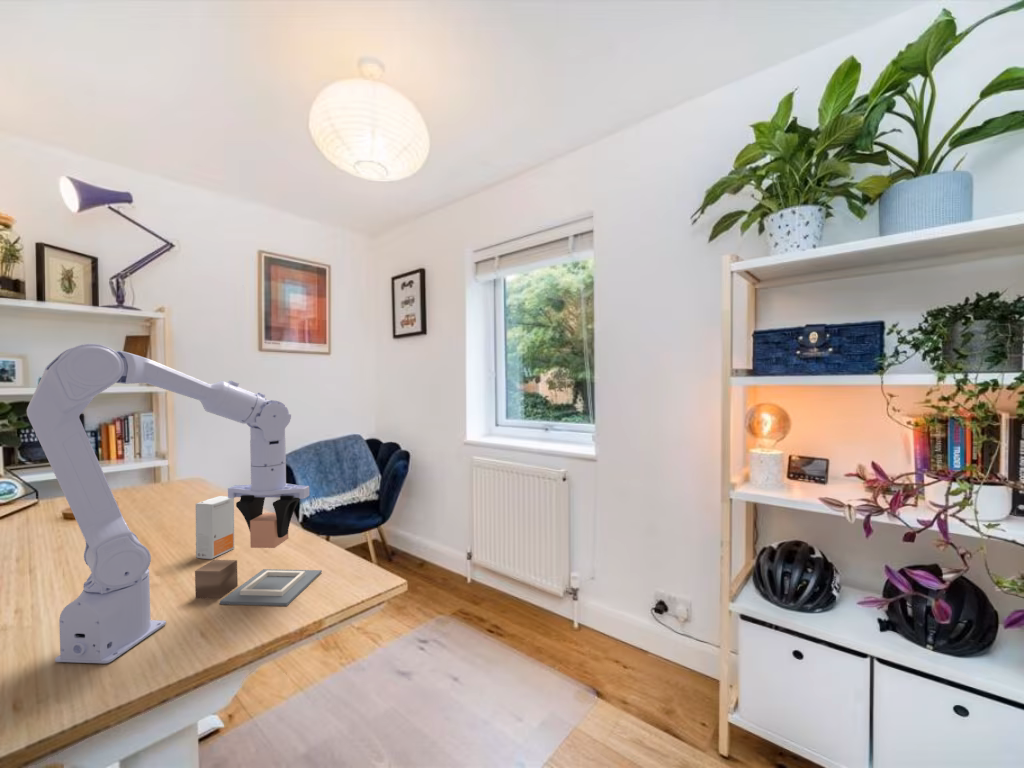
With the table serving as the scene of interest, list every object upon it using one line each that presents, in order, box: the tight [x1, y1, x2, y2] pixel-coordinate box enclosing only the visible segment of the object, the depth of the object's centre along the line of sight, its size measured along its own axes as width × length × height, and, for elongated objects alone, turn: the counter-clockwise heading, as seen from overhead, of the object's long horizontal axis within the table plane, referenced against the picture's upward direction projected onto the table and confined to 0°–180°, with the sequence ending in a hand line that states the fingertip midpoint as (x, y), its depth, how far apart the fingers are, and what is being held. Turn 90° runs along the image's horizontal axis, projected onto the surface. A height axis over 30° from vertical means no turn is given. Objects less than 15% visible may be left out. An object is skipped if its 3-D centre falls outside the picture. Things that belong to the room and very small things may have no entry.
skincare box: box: [195, 495, 235, 560], centre depth 94 cm, size 6×4×12 cm
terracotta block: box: [249, 512, 289, 549], centre depth 80 cm, size 4×4×5 cm
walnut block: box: [194, 559, 239, 600], centre depth 78 cm, size 4×4×5 cm
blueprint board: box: [219, 568, 323, 607], centre depth 79 cm, size 12×12×1 cm
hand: (269, 535), depth 80 cm, fingers closed on terracotta block, 4 cm apart
